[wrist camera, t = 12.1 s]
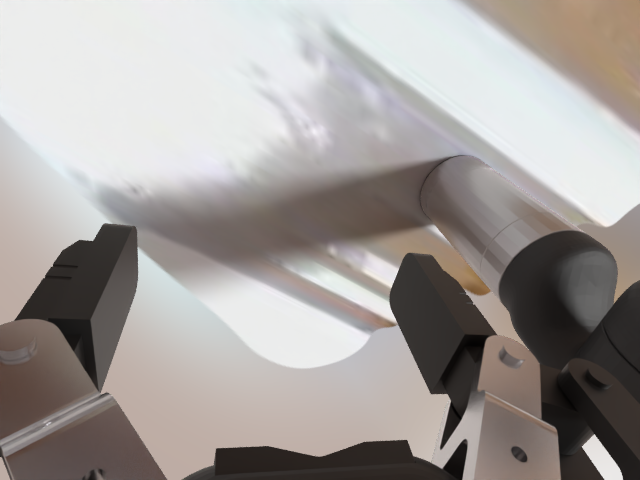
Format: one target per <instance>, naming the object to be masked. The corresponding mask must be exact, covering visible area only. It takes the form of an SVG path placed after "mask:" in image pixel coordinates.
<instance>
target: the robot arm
mask: <svg viewBox="0 0 640 480" xmlns="http://www.w3.org/2000/svg"><path fill="white" fill-rule="evenodd" d="M420 202H421V207H422V209H423V211H424V213H425V214H426V215H427V216H428V217H429V218H430V220H431V221H432V222H433V223H434V224H435V226H436V227H437V228H438V229H439V231H440V232H441V233H442V234H443V235H444V236H445V238H446V239H447V240H448V241H449V242H450V243H451V245H452V246H453V247H454V248H455V249H456V250H457V252H458V253H459V254H460V255H461V256H462V257H463V259H464V260H465V261H466V262H467V263H468V264H469V266H470V267H471V268H472V269H473V270H474V271H475V273H476V274H477V275H478V276H479V277H480V278H481V280H482V281H483V282H484V283H485V284H486V285H487V286H488V288H489V289H490V290H491V291H492V292H493V293H494V294H495V296H496V297H497V298H498V299H499V300H500V302H501V303H502V304H503V305H504V306H505V307H506V308H507V310H508V311H509V313H510V316H511V321H512V324H513V327H514V329H515V331H516V332H517V334H518V336H519V337H520V338H521V340H522V341H523V342H524V344H525V345H526V347H527V348H528V349H529V350H528V349H527V348H526V347H524V346H523V345H522V344H520V343H518V342H517V341H515V340H513V339H510V338H508V337H505V336H498V335H497V334H496V333H495V331H494V330H493V329H492V327H491V326H490V324H489V323H488V322H487V320H486V319H485V318H484V316H483V315H482V314H481V312H480V311H479V310H478V308H477V307H476V306H475V305H473V302H472V300H471V299H470V298H469V296H468V295H466V292H465V291H464V289H463V288H462V287H461V285H460V284H459V283H458V281H456V280H455V279H454V278H453V277H451V276H450V275H449V274H448V273H447V272H445V271H443V269H442V268H441V267H440V265H439V264H438V262H437V261H436V260H435V258H434V257H433V256H432V255H427V254H417V253H408V254H406V255H405V257H404V259H403V261H402V263H401V266H400V268H399V271H398V273H397V276H396V278H395V281H394V283H393V286H392V288H391V292H390V307H391V310H392V312H393V314H394V316H395V318H396V321H397V323H398V325H399V327H400V329H401V331H402V333H403V335H404V337H405V340H406V342H407V344H408V346H409V348H410V350H411V353H412V355H413V357H414V359H415V361H416V363H417V365H418V368H419V370H420V372H421V374H422V376H423V378H424V380H425V382H426V384H427V387H428V389H429V391H430V393H431V394H448V395H449V397H450V400H449V401H448V403H447V405H446V407H445V411H444V414H443V418H442V422H441V427H440V431H439V435H438V438H437V442H436V447H435V450H434V454H433V458H432V461H431V463H430V462H428V461H426V460H423V459H420V458H417V457H414V456H413V455H412V452H411V450H410V446H409V444H408V441H407V440H397V441H373V442H363V443H360V444H357V445H354V446H352V447H349V448H346V449H343V450H340V451H338V452H334V453H332V454H329V455H326V456H322V457H315V456H311V455H306V454H301V453H297V452H292V451H288V450H283V449H278V448H274V447H269V446H263V447H240V448H217V449H216V453H215V461H214V465H213V466H210V467H207V468H204V469H202V470H199V471H197V472H195V473H193V474H191V475H189V476H187V477H186V478H184V479H182V480H604V479H603V477H602V476H601V474H600V473H599V472H598V470H597V468H596V467H595V466H594V464H593V463H592V462H591V460H590V458H589V457H588V456H587V454H586V453H585V451H584V450H583V448H582V446H583V445H584V444H585V443H586V442H587V441H588V440H589V439H590V438H591V437H592V436H593V435H594V434H595V435H596V437H597V438H598V439H599V441H600V442H601V443H602V445H603V446H604V447H605V449H606V450H607V451H608V453H609V454H610V455H611V457H612V458H613V460H614V461H615V462H616V464H617V465H618V467H619V468H620V470H621V472H622V476H623V480H640V280H639V281H637V282H636V283H634V284H633V285H631V286H630V287H629V288H628V289H627V290H626V291H625V292H624V293H623V294H622V295H621V296H620V297H619V298H618V300H617V301H616V302H615V303H614V294H615V289H616V283H617V275H618V271H617V264H616V261H615V259H614V257H613V255H612V254H611V252H610V251H609V250H608V249H607V248H606V247H604V246H603V245H602V244H601V243H599V242H598V241H596V240H595V239H593V238H592V237H591V236H589V235H587V234H586V233H585V232H583V231H582V230H580V229H579V228H577V227H576V226H575V225H573V224H572V223H570V222H569V221H567V220H566V219H564V218H563V217H561V216H560V215H558V214H557V213H556V212H554V211H553V210H551V209H550V208H548V207H547V206H545V205H544V204H543V203H541V202H540V201H538V200H537V199H535V198H534V197H533V196H531V195H530V194H528V193H527V192H525V191H524V190H522V189H521V188H520V187H518V186H517V185H515V184H514V183H512V182H511V181H509V180H508V179H507V178H505V177H504V176H502V175H501V174H500V173H498V172H497V171H495V170H494V169H493V168H491V167H490V166H488V165H487V164H485V163H484V162H482V161H481V160H480V159H478V158H475V157H473V156H457V157H454V158H450V159H448V160H446V161H444V162H443V163H441V164H440V165H439V166H437V167H436V168H435V169H434V170H433V171H432V172H431V173H430V175H429V176H428V177H427V179H426V180H425V182H424V185H423V187H422V191H421V197H420ZM137 254H138V253H137V230H136V227H135V226H127V225H117V224H106V223H105V224H103V225H102V227H101V229H100V230H99V232H98V234H97V235H96V237H95V239H94V241H84V240H79V241H77V242H75V243H74V244H73V245H71V246H69V247H68V248H66V249H64V250H63V251H62V252H61V254H60V255H59V256H58V258H57V259H56V261H55V262H54V264H53V267H51V268H50V269H49V271H48V272H47V274H46V275H45V278H43V280H42V281H41V283H40V284H39V286H38V287H37V288H36V290H35V291H34V293H33V294H32V296H31V297H30V299H29V300H28V301H27V303H26V304H25V306H24V307H23V309H22V310H21V312H20V313H19V315H18V316H17V318H16V319H15V320H14V321H12V322H8V323H5V324H3V325H0V457H2V459H3V462H4V465H5V467H6V469H7V472H8V475H9V477H10V480H167V479H166V477H165V475H164V474H163V472H162V471H161V469H160V468H159V466H158V465H157V463H156V462H155V460H154V459H153V457H152V455H151V454H150V452H149V451H148V449H147V448H146V446H145V445H144V443H143V441H142V440H141V438H140V437H139V435H138V434H137V432H136V431H135V429H134V428H133V426H132V425H131V423H130V421H129V420H128V418H127V417H126V415H125V414H124V412H123V411H122V409H121V408H120V406H119V404H118V403H117V401H116V400H115V399H114V398H113V396H111V394H109V393H105V394H102V395H101V394H100V393H101V390H102V387H103V384H104V382H105V379H106V376H107V373H108V370H109V367H110V364H111V361H112V359H113V356H114V353H115V350H116V347H117V344H118V342H119V339H120V336H121V333H122V330H123V327H124V324H125V322H126V319H127V316H128V313H129V310H130V307H131V304H132V301H133V299H134V296H135V292H136V288H137V281H138V255H137ZM613 303H614V305H613Z"/></svg>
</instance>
